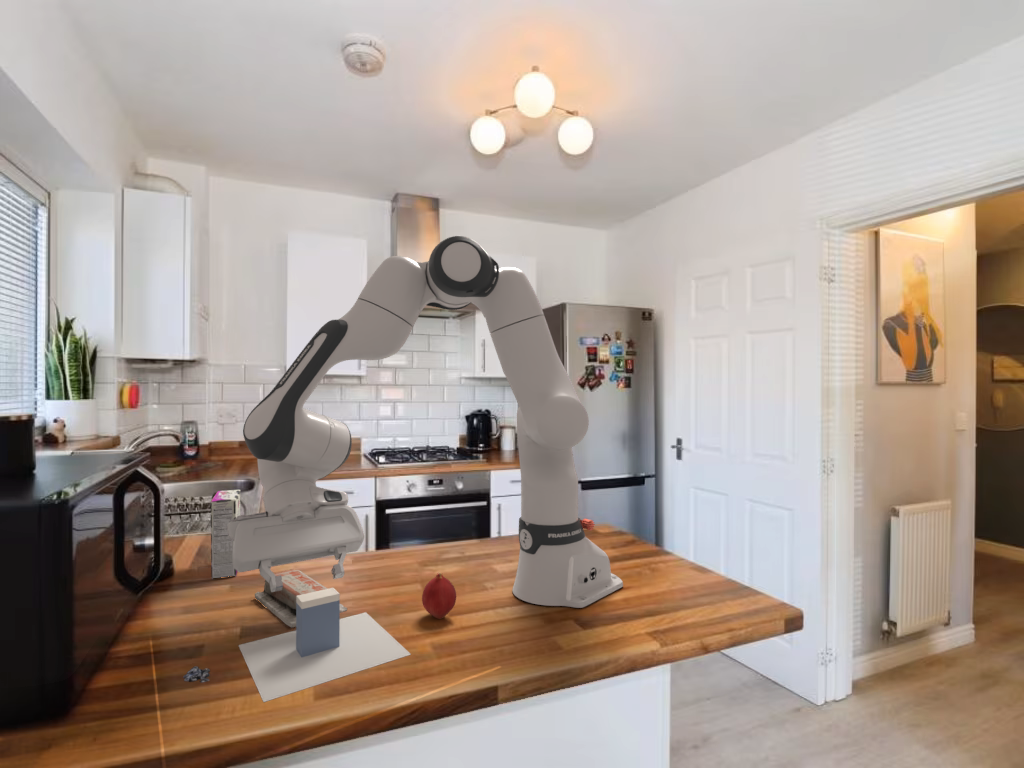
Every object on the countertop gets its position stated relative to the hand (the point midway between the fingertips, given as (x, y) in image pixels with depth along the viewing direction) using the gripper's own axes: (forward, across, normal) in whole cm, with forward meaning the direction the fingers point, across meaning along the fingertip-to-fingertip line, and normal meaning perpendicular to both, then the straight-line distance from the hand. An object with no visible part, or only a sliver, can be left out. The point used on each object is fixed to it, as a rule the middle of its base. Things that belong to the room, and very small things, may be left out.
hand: (309, 582), depth 83 cm
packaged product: (-3, +2, +17) cm, 17 cm away
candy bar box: (-24, -6, +37) cm, 44 cm away
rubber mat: (+10, +1, +2) cm, 10 cm away
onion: (+10, +20, +2) cm, 23 cm away
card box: (+9, 0, +3) cm, 10 cm away
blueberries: (+9, -15, +5) cm, 18 cm away
